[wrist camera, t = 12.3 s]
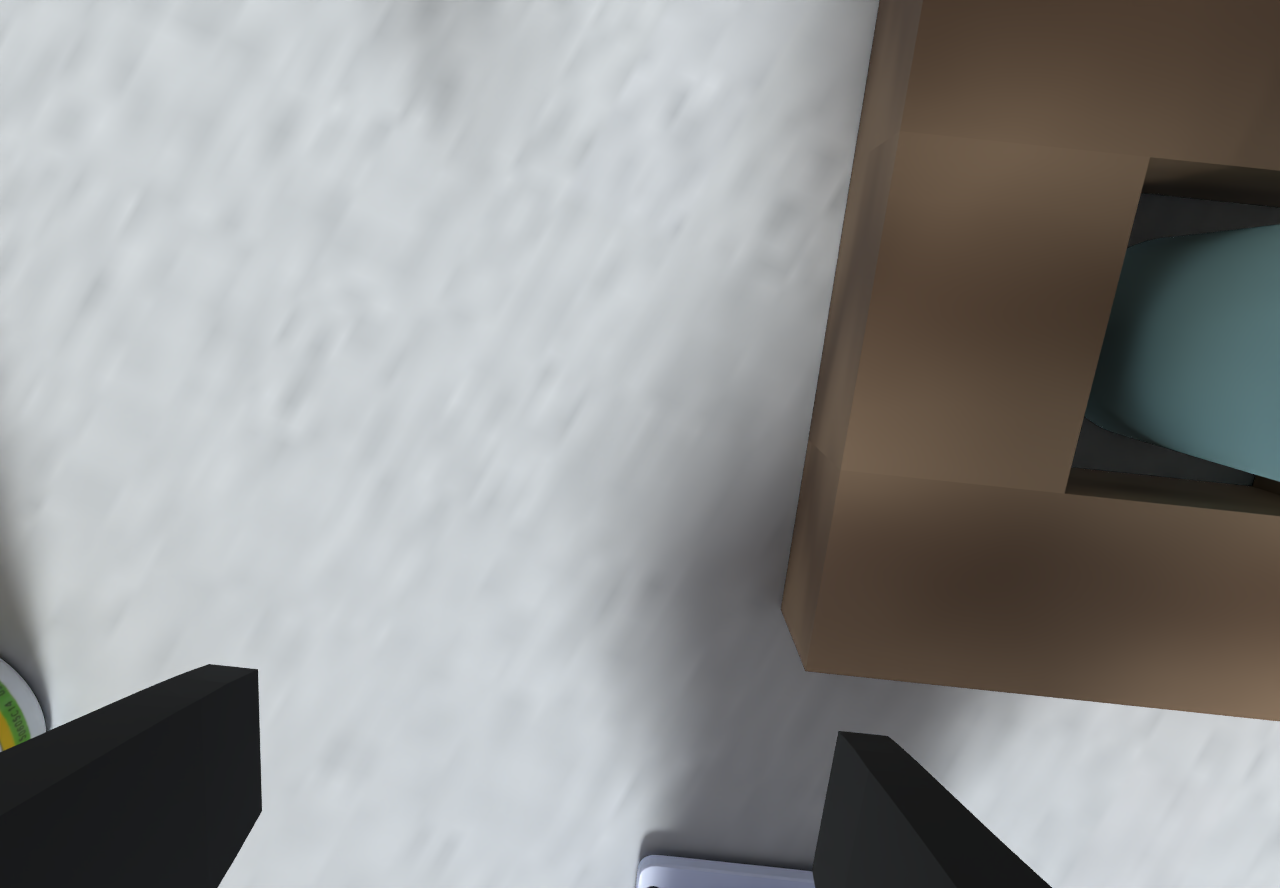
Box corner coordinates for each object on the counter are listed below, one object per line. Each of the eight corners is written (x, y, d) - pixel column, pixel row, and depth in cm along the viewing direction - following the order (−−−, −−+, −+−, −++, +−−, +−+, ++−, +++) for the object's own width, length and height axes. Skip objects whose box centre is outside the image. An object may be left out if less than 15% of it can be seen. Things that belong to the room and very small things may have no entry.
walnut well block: (1372, 671, 18) (1514, 746, 15) (780, 609, 18) (805, 671, 15) (1629, 7, 14) (1882, -67, 11) (890, -69, 14) (951, -163, 11)
